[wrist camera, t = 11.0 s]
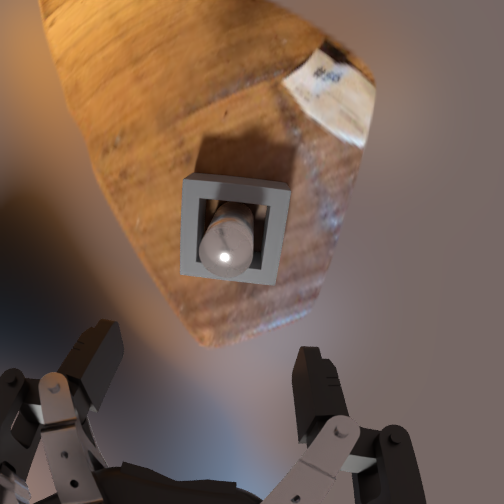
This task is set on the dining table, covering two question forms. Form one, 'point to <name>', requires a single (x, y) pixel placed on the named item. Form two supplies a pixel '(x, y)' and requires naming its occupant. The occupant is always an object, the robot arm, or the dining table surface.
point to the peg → (228, 241)
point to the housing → (236, 190)
